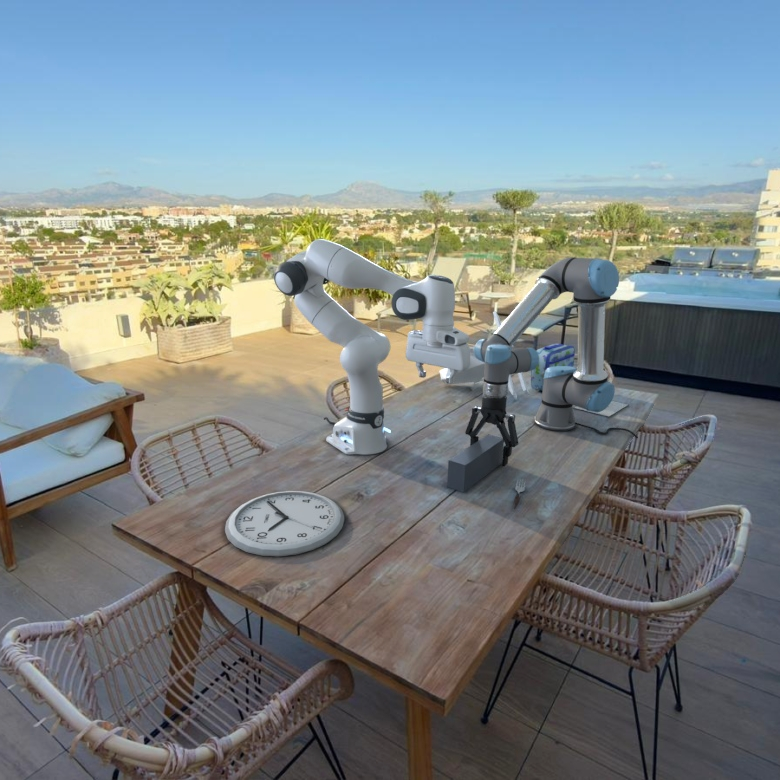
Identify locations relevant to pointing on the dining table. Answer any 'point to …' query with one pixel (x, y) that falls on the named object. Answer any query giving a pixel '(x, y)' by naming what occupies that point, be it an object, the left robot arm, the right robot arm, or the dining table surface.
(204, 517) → the dining table surface
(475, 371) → the white plastic object
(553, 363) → the lunch box
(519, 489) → the fork
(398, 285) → the left robot arm
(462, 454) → the bar
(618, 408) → the invitation card
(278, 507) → the wall clock
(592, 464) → the dining table surface
